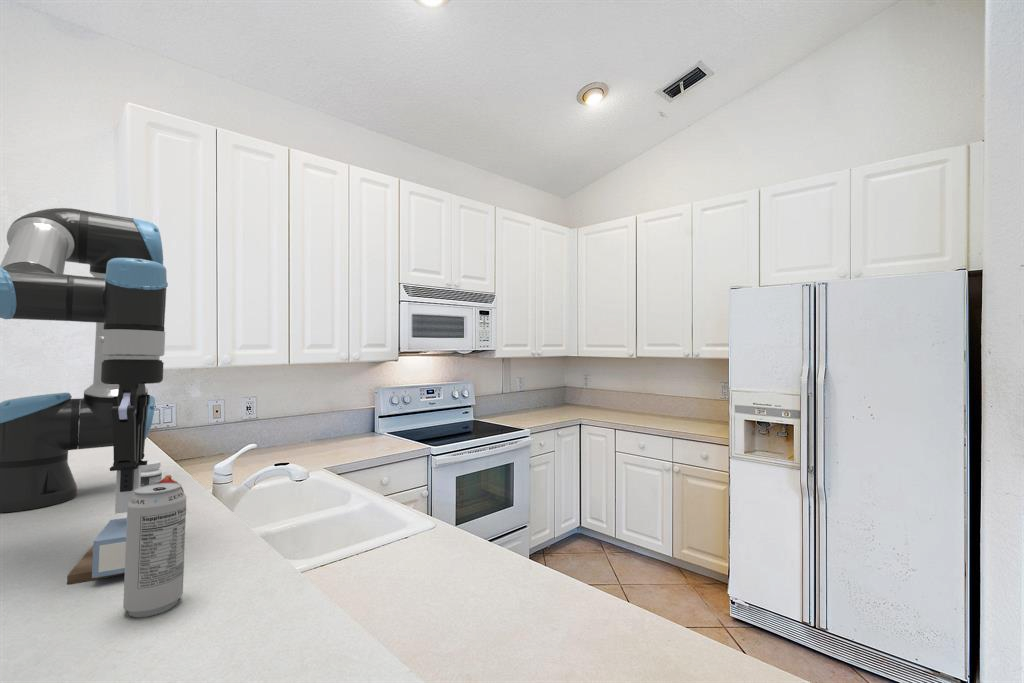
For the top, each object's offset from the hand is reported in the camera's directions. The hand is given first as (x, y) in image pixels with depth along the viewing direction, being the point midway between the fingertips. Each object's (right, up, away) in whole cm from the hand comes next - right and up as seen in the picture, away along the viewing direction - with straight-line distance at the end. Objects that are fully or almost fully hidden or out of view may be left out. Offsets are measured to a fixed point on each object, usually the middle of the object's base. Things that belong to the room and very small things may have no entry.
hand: (127, 510), depth 72 cm
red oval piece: (-10, -9, +22) cm, 26 cm away
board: (-1, -8, +2) cm, 8 cm away
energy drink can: (+14, -8, -13) cm, 20 cm away
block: (-1, -4, +2) cm, 5 cm away
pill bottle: (-22, -9, +32) cm, 39 cm away
